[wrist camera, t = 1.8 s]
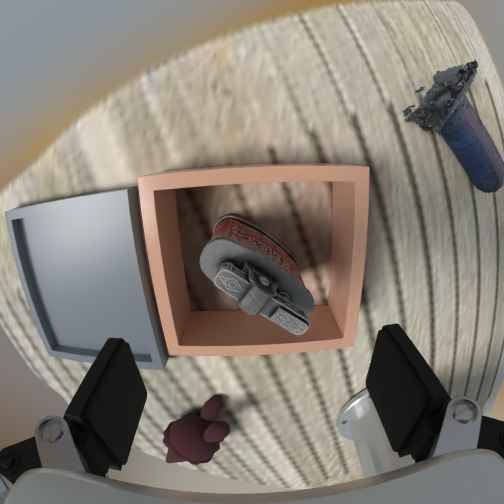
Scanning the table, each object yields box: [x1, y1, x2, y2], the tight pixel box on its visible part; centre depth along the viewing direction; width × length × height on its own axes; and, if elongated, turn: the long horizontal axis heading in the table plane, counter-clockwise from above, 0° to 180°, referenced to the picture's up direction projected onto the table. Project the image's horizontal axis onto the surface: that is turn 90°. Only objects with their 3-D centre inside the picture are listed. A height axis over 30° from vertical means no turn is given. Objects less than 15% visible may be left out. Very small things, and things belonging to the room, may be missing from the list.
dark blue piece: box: [403, 60, 504, 193], centre depth 18 cm, size 9×8×12 cm
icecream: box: [163, 396, 230, 465], centre depth 29 cm, size 7×7×15 cm
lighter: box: [200, 214, 314, 335], centre depth 20 cm, size 8×3×10 cm, turn 55°
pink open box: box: [138, 163, 369, 356], centre depth 22 cm, size 15×14×6 cm
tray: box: [5, 187, 168, 370], centre depth 25 cm, size 16×18×2 cm
